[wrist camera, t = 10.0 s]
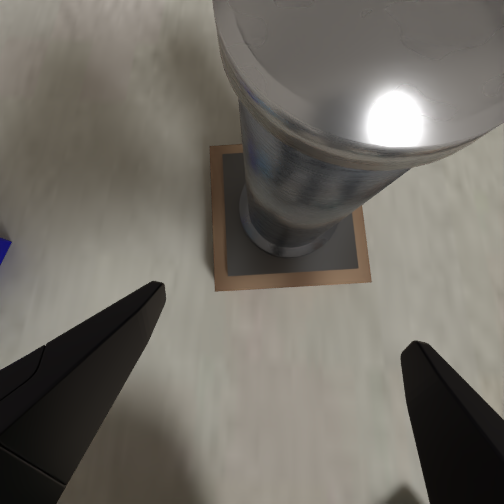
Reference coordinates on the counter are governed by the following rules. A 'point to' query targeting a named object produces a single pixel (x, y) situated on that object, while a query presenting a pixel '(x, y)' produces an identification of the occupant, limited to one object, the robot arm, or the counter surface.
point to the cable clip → (4, 248)
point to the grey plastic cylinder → (351, 101)
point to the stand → (265, 265)
